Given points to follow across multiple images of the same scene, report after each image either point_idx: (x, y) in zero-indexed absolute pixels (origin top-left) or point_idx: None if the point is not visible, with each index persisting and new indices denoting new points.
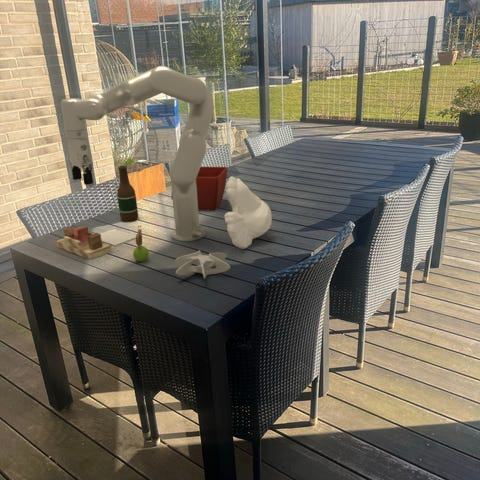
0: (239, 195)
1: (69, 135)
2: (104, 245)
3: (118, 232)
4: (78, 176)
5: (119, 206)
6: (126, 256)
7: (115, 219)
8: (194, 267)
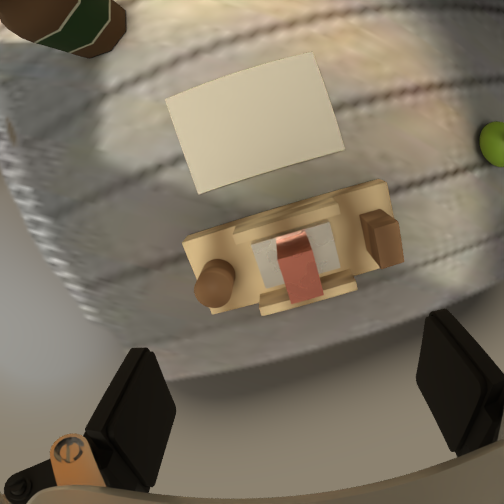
0: None
1: None
2: (372, 198)
3: (217, 92)
4: (155, 393)
5: (64, 46)
6: (440, 158)
7: (67, 75)
8: None
